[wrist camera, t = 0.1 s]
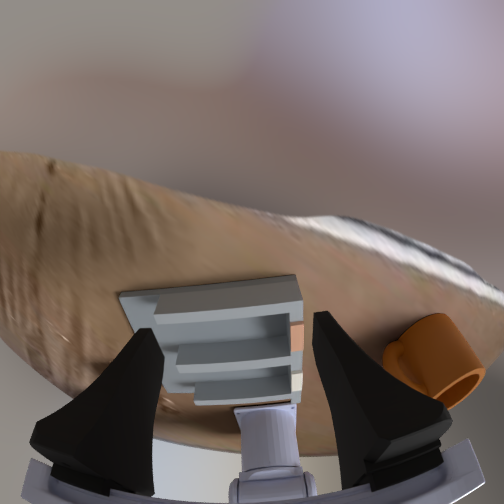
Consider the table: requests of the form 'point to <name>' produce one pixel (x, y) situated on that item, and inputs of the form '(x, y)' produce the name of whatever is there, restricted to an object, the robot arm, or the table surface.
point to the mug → (435, 360)
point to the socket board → (226, 338)
